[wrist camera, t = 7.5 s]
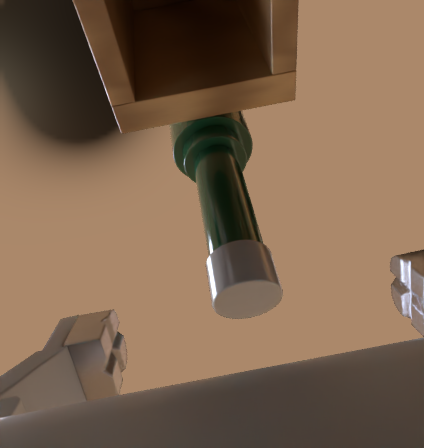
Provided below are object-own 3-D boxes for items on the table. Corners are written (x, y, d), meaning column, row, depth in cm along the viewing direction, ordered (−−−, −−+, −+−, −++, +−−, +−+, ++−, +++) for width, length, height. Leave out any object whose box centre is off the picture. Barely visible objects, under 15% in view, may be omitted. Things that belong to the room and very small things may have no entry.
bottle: (218, 24, 27) (224, 82, 31) (156, 35, 27) (168, 92, 31) (307, 257, 14) (300, 317, 17) (182, 280, 14) (200, 336, 17)
